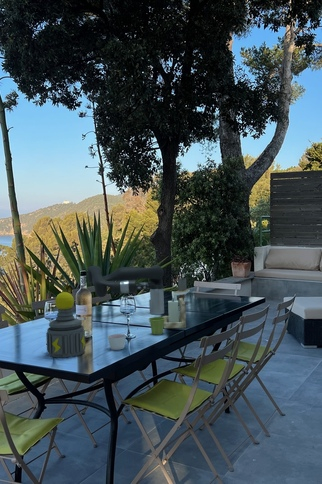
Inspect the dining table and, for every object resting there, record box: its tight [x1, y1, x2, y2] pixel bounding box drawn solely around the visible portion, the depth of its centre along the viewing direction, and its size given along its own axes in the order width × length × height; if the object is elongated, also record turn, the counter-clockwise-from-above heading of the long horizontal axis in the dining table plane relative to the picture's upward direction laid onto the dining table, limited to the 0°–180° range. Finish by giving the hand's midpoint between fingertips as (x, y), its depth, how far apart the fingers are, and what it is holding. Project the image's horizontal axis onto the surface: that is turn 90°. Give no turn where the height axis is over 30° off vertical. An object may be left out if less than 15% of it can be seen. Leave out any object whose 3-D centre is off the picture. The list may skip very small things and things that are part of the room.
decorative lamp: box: [45, 291, 86, 359], centre depth 240 cm, size 19×19×30 cm
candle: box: [107, 333, 127, 351], centre depth 247 cm, size 9×9×6 cm
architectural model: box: [172, 277, 191, 305], centre depth 374 cm, size 38×25×20 cm, turn 164°
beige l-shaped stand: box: [162, 298, 187, 329], centre depth 302 cm, size 13×23×14 cm, turn 2°
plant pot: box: [148, 316, 165, 336], centre depth 277 cm, size 9×9×9 cm
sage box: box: [167, 297, 180, 323], centre depth 302 cm, size 6×5×16 cm
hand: (154, 285), depth 301 cm, fingers open, 8 cm apart
